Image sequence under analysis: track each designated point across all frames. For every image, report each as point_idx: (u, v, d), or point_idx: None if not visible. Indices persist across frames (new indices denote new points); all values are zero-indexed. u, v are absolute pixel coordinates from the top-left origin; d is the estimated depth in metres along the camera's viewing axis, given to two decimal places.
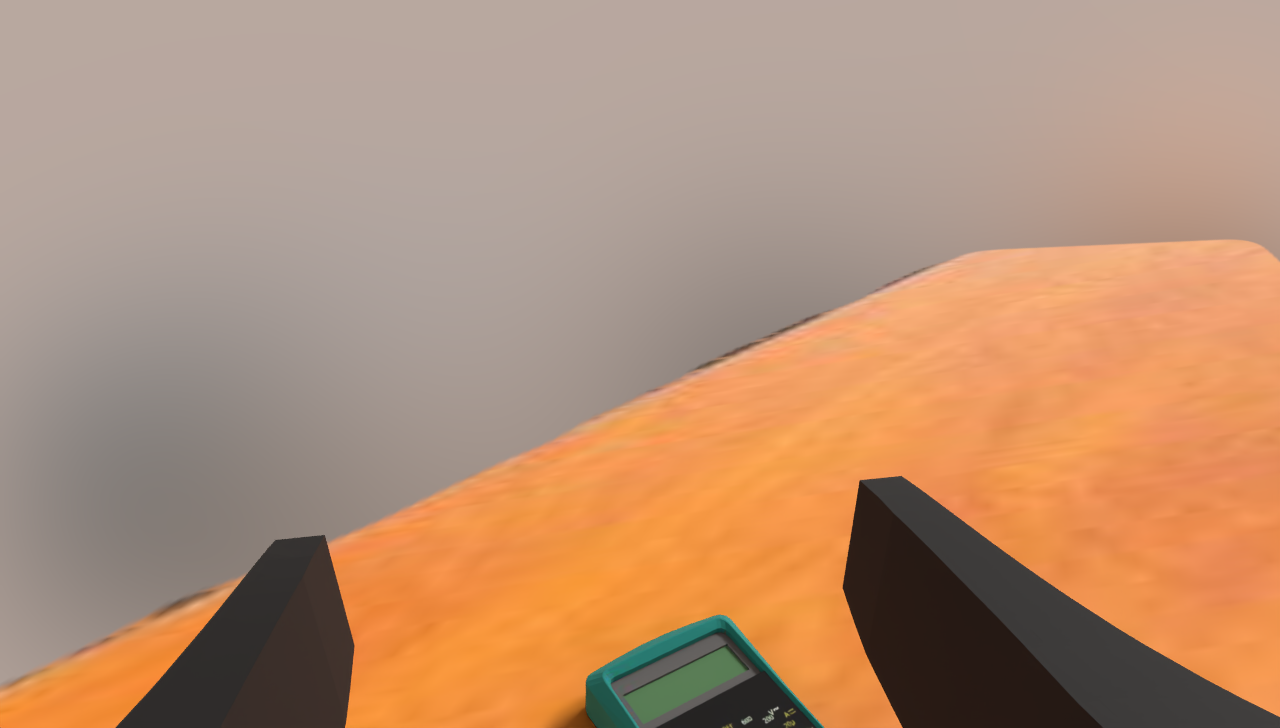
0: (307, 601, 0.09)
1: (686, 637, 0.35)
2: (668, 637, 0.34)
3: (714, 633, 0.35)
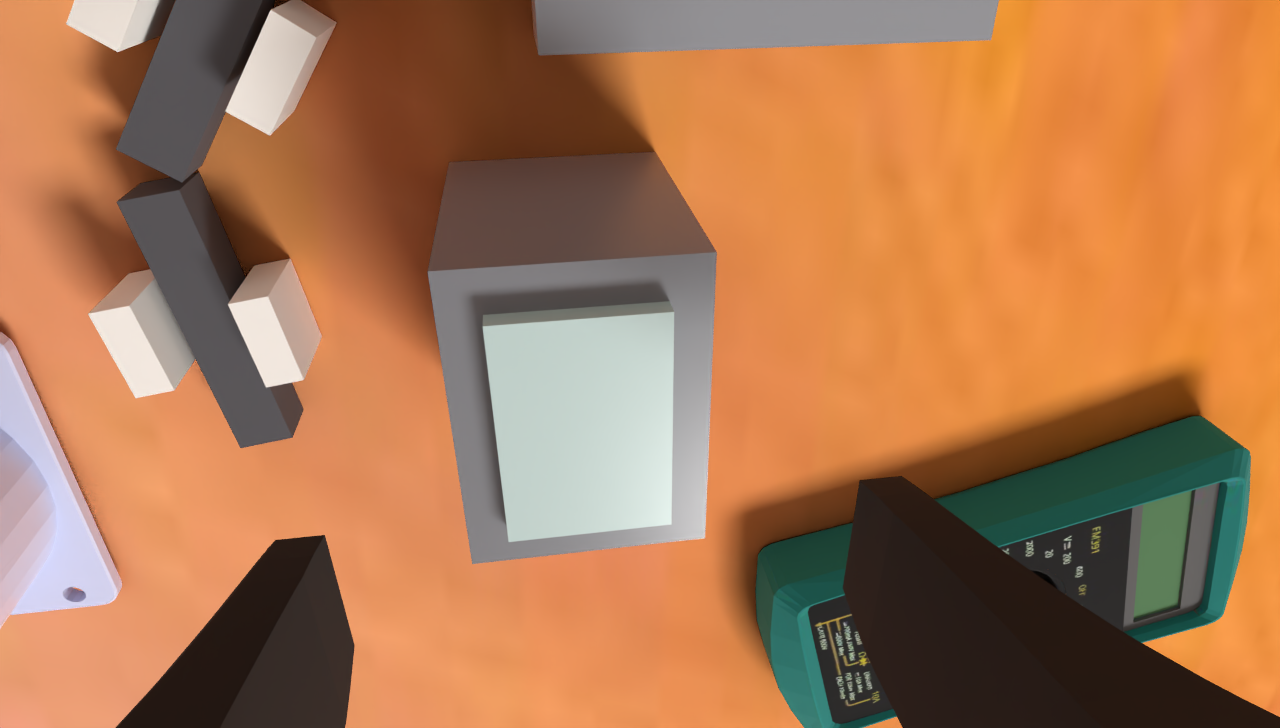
0: (307, 601, 0.09)
1: (1221, 576, 0.25)
2: (1236, 559, 0.24)
3: (1202, 600, 0.26)
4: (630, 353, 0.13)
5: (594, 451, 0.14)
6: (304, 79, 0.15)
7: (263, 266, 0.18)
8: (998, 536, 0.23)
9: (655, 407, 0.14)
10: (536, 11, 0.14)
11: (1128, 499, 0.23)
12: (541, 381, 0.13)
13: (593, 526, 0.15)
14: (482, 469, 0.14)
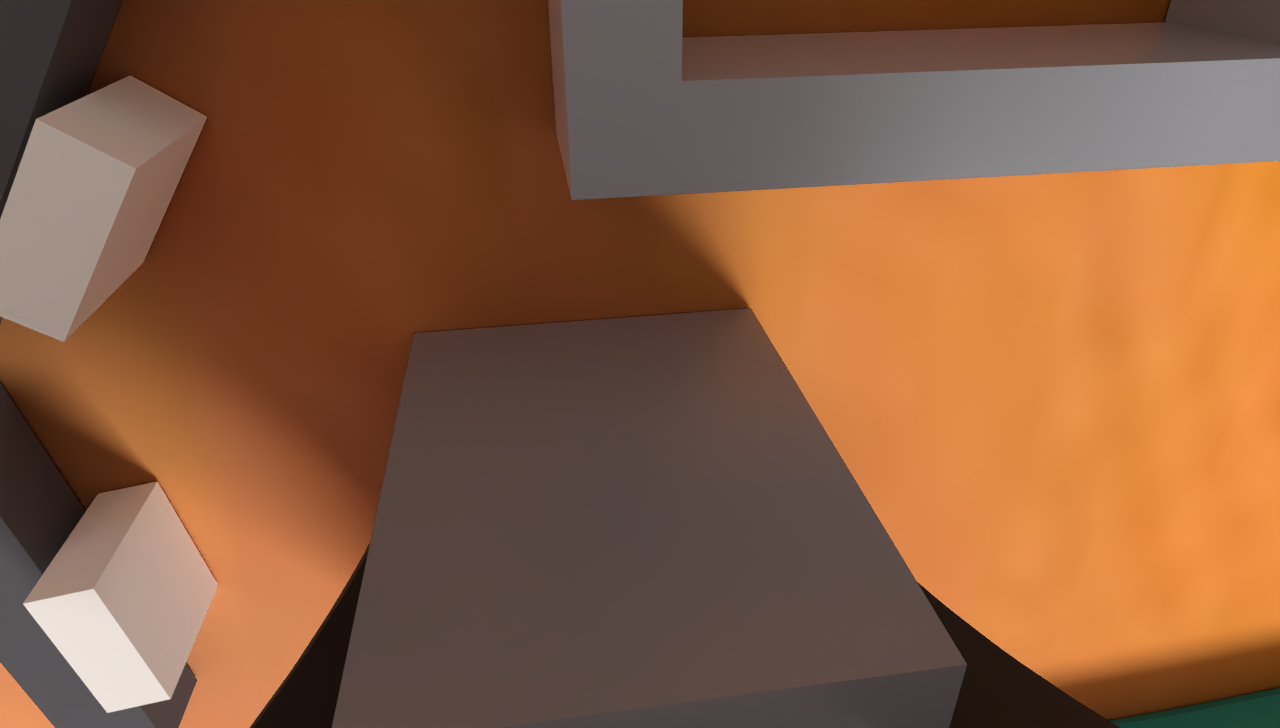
0: None
1: None
2: None
3: None
4: None
5: None
6: (142, 224, 0.08)
7: (110, 499, 0.11)
8: None
9: None
10: (569, 120, 0.07)
11: None
12: None
13: None
14: None
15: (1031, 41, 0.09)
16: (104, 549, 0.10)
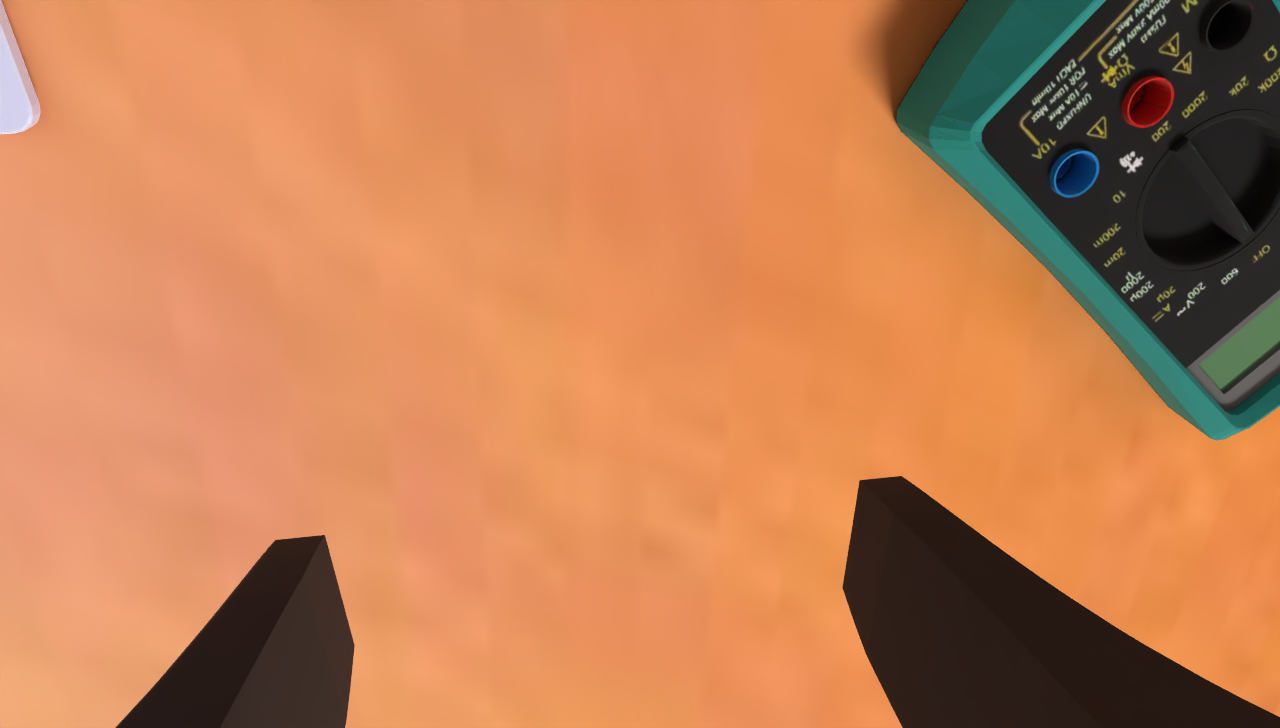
0: (307, 601, 0.09)
1: None
2: None
3: (1241, 404, 0.22)
4: None
5: None
6: None
7: None
8: None
9: None
10: None
11: None
12: None
13: None
14: None
15: None
16: None
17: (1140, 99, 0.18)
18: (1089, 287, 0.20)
